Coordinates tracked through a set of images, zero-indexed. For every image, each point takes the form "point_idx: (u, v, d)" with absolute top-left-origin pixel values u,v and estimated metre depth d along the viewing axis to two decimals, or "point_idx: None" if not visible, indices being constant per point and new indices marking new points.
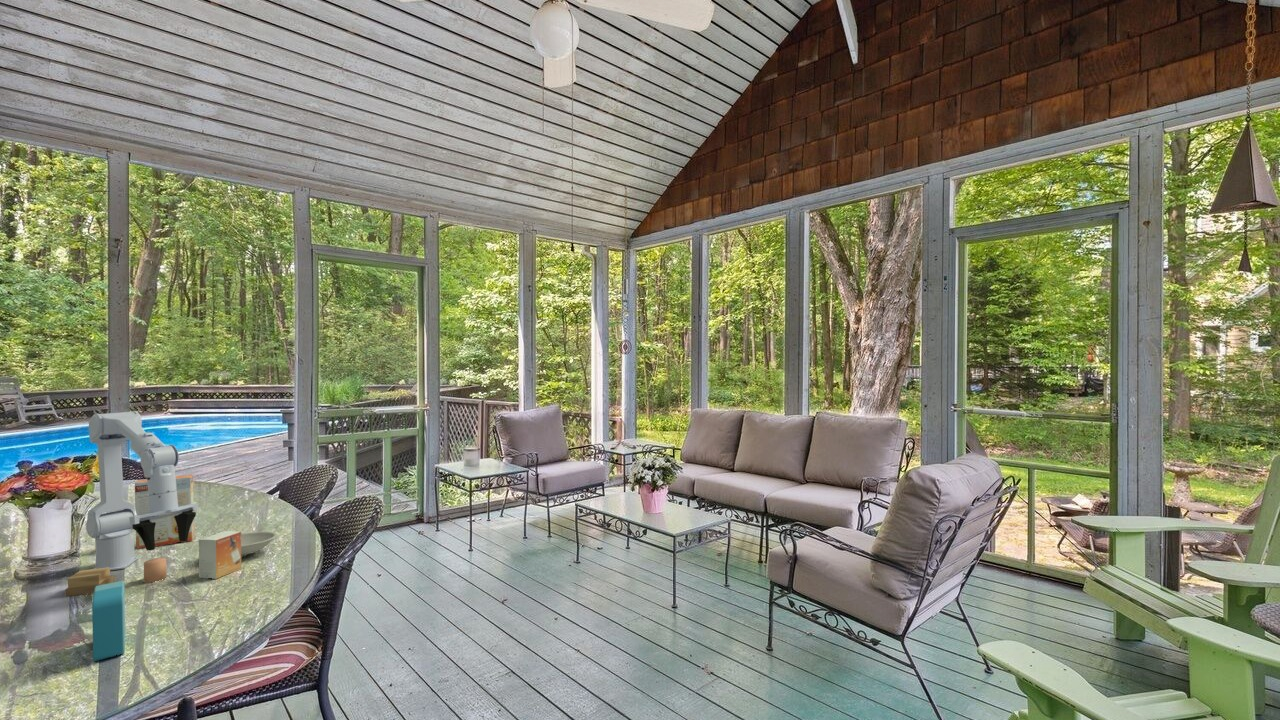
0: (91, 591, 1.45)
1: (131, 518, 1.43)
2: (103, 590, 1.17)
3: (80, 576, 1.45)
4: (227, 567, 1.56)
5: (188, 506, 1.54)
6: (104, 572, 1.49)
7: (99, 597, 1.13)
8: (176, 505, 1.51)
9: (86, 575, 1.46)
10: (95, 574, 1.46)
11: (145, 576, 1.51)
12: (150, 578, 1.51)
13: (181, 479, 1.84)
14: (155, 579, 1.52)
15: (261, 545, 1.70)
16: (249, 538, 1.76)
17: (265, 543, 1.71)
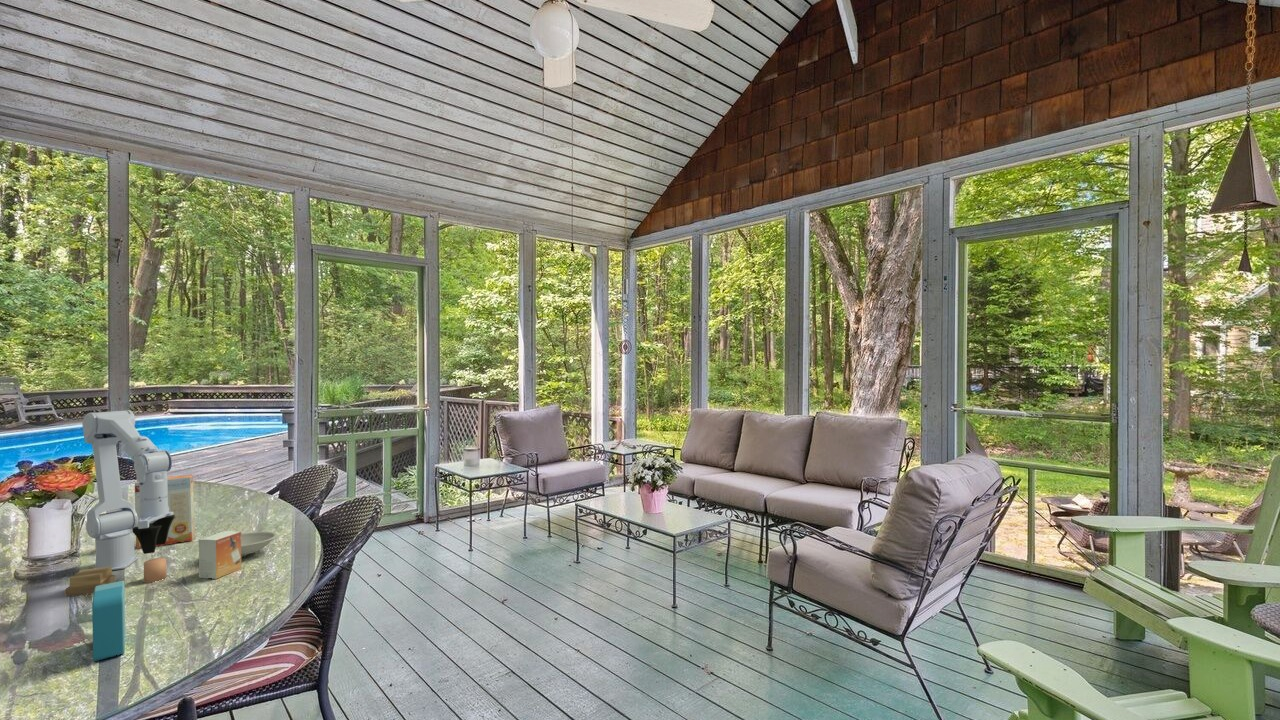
0: (91, 591, 1.45)
1: (142, 522, 1.47)
2: (103, 590, 1.17)
3: (82, 575, 1.45)
4: (227, 567, 1.56)
5: None
6: (106, 571, 1.49)
7: (99, 597, 1.13)
8: None
9: (87, 574, 1.46)
10: (96, 573, 1.46)
11: (145, 576, 1.51)
12: (150, 578, 1.51)
13: (181, 479, 1.84)
14: (155, 579, 1.52)
15: (261, 545, 1.70)
16: (249, 538, 1.76)
17: (265, 543, 1.71)
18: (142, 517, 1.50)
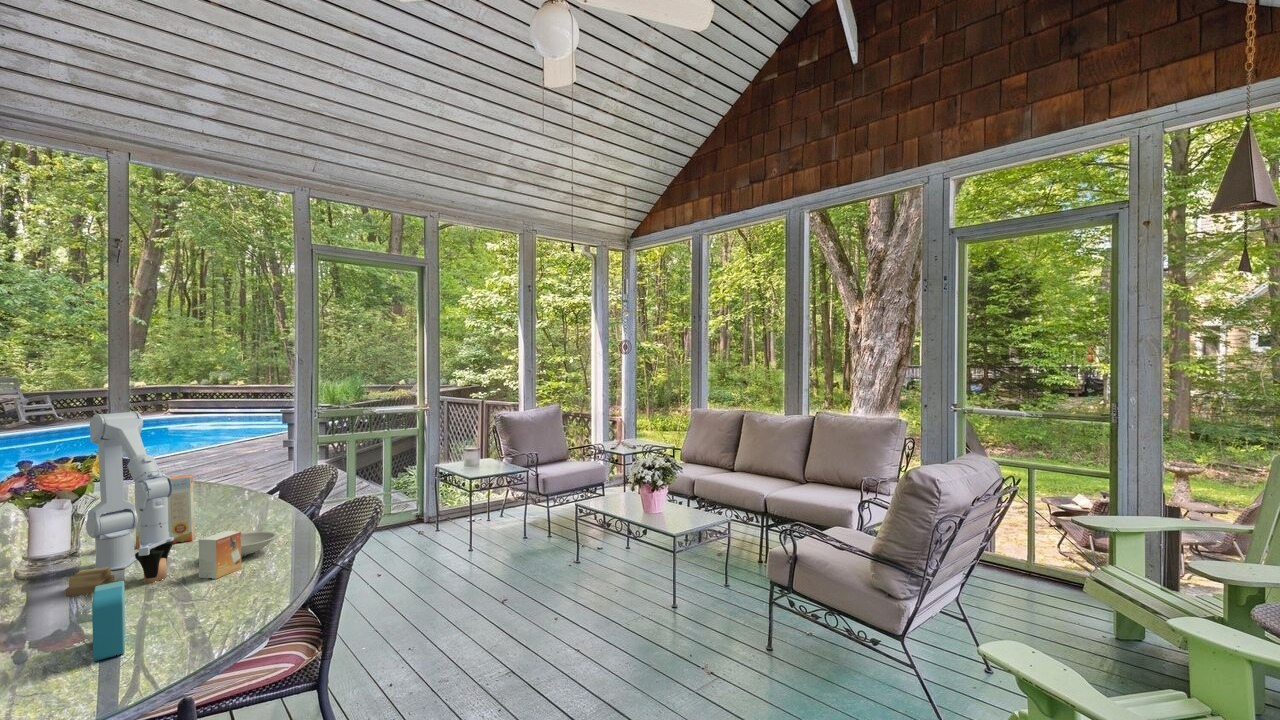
0: (91, 591, 1.45)
1: (142, 549, 1.47)
2: (103, 590, 1.17)
3: (81, 576, 1.45)
4: (227, 567, 1.56)
5: None
6: (105, 572, 1.49)
7: (99, 597, 1.13)
8: None
9: (87, 575, 1.46)
10: (96, 574, 1.46)
11: None
12: (150, 578, 1.51)
13: (181, 479, 1.84)
14: (155, 579, 1.52)
15: (261, 545, 1.70)
16: (249, 538, 1.76)
17: (265, 543, 1.71)
18: (143, 543, 1.50)
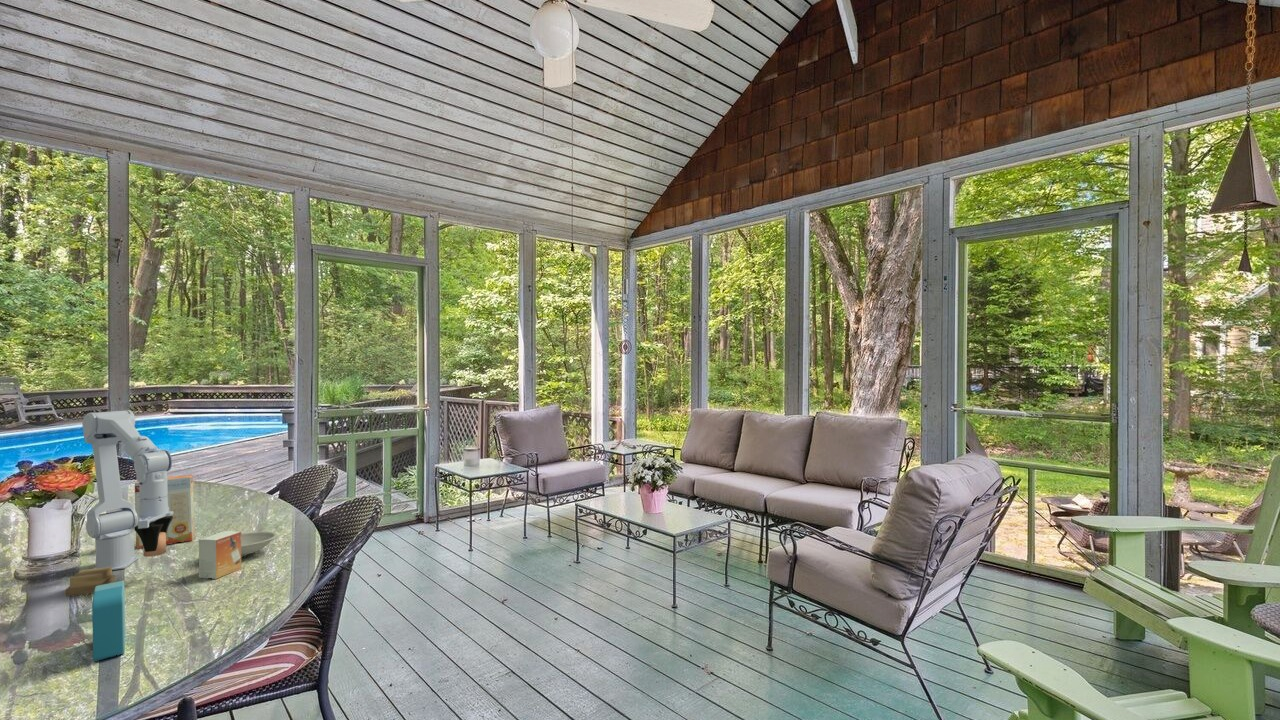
0: (91, 591, 1.45)
1: (142, 522, 1.47)
2: (103, 590, 1.17)
3: (82, 576, 1.45)
4: (227, 567, 1.56)
5: None
6: (106, 572, 1.49)
7: (99, 597, 1.13)
8: None
9: (88, 575, 1.46)
10: (97, 574, 1.46)
11: (144, 549, 1.51)
12: (149, 552, 1.51)
13: (181, 479, 1.84)
14: (154, 553, 1.52)
15: (261, 545, 1.70)
16: (249, 538, 1.76)
17: (265, 543, 1.71)
18: (142, 517, 1.50)
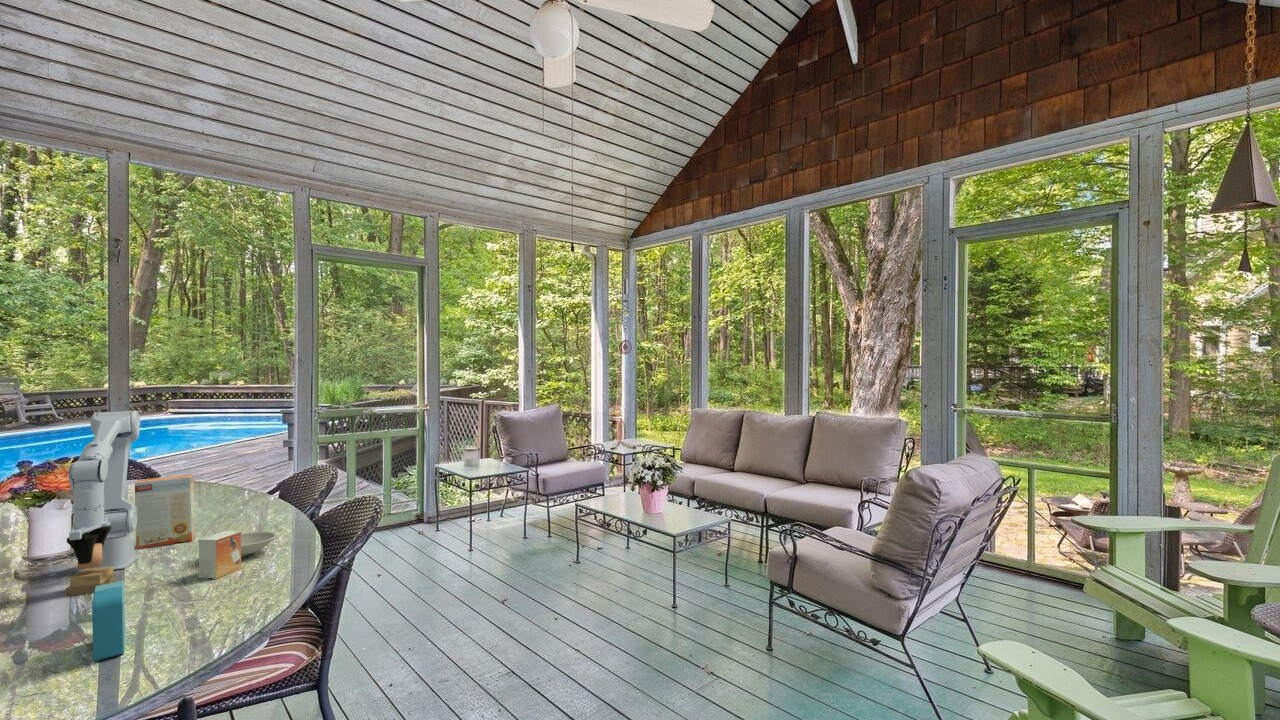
0: (91, 590, 1.45)
1: (73, 533, 1.41)
2: (103, 590, 1.17)
3: (82, 575, 1.45)
4: (227, 567, 1.56)
5: (105, 519, 1.53)
6: (106, 571, 1.49)
7: (99, 597, 1.13)
8: None
9: (88, 574, 1.46)
10: (96, 574, 1.46)
11: None
12: (83, 564, 1.45)
13: (181, 479, 1.84)
14: (89, 565, 1.46)
15: (261, 545, 1.70)
16: (249, 538, 1.76)
17: (265, 543, 1.71)
18: (75, 528, 1.45)
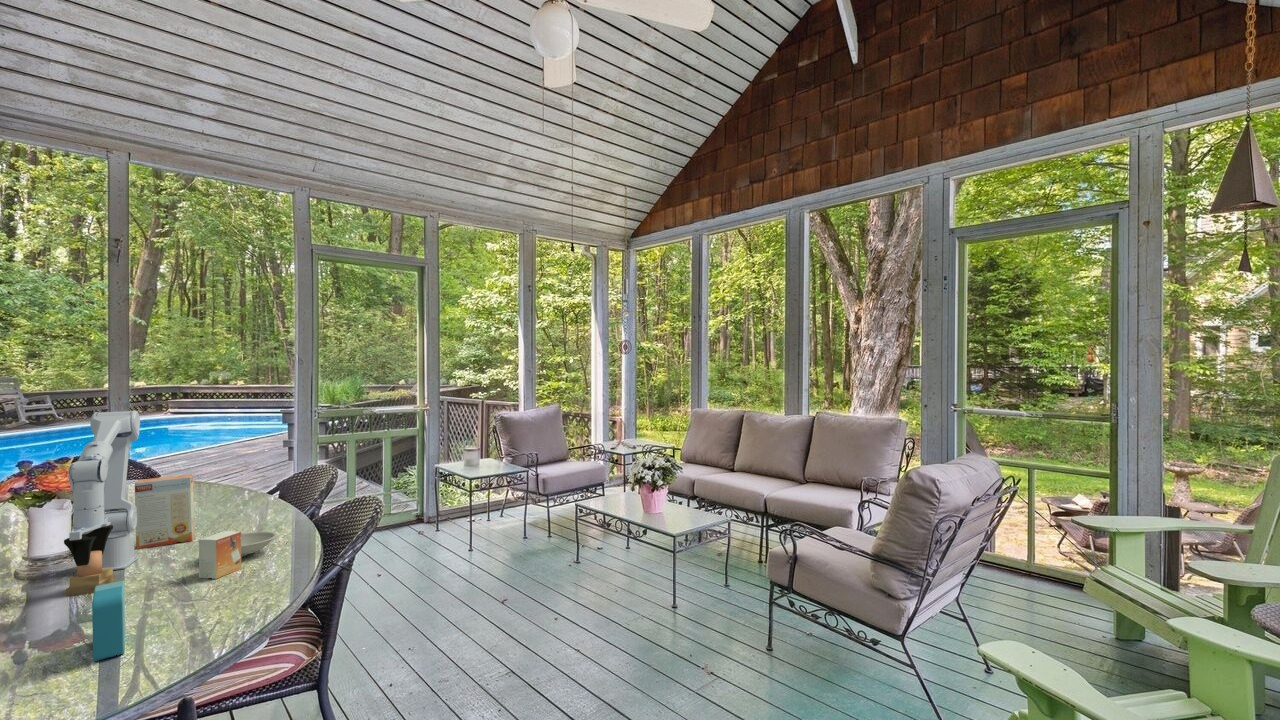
0: (92, 591, 1.45)
1: (73, 533, 1.41)
2: (103, 590, 1.17)
3: None
4: (227, 567, 1.56)
5: (105, 520, 1.53)
6: (106, 572, 1.49)
7: (99, 597, 1.13)
8: None
9: None
10: (96, 574, 1.46)
11: (78, 569, 1.45)
12: (83, 572, 1.45)
13: (181, 479, 1.84)
14: (89, 572, 1.46)
15: (261, 545, 1.70)
16: (249, 538, 1.76)
17: (265, 543, 1.71)
18: (75, 528, 1.45)
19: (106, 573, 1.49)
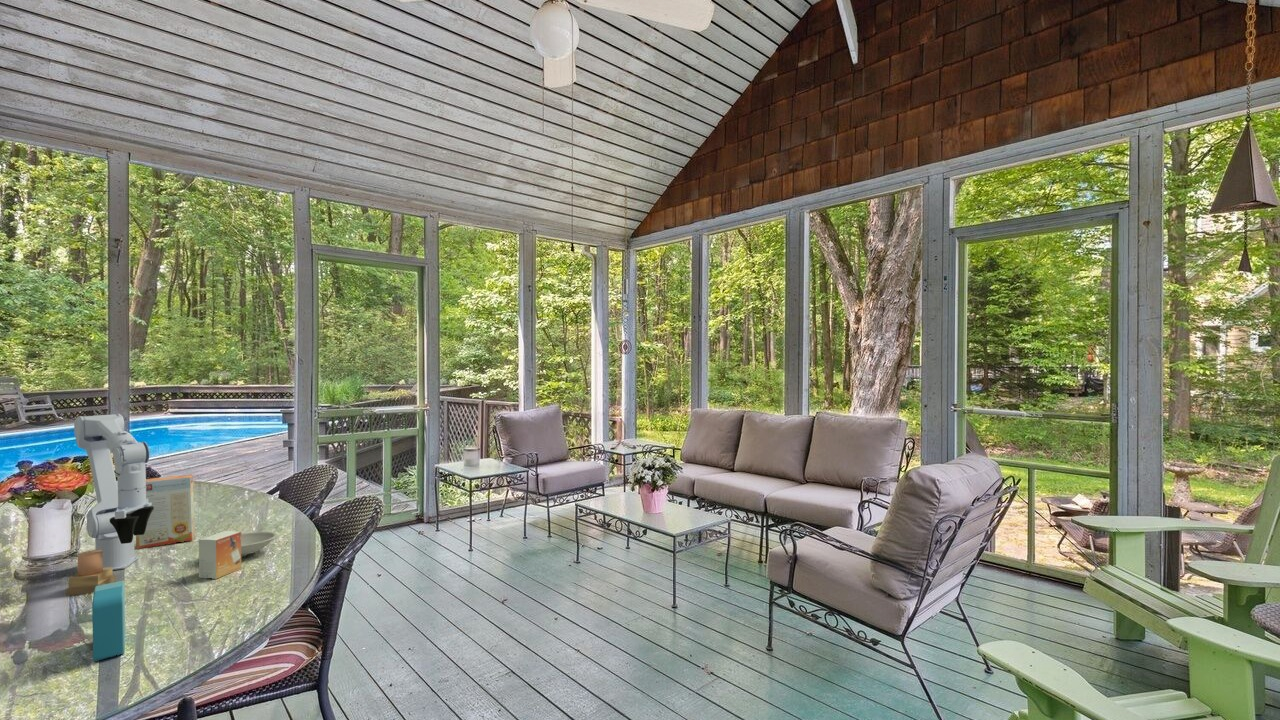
0: (92, 591, 1.45)
1: (119, 512, 1.48)
2: (103, 590, 1.17)
3: (81, 576, 1.45)
4: (227, 567, 1.56)
5: (146, 501, 1.60)
6: (105, 572, 1.49)
7: (99, 597, 1.13)
8: None
9: None
10: (95, 574, 1.46)
11: (79, 569, 1.45)
12: (84, 571, 1.45)
13: (181, 479, 1.84)
14: (89, 572, 1.46)
15: (261, 545, 1.70)
16: (249, 538, 1.76)
17: (265, 543, 1.71)
18: (120, 508, 1.52)
19: (105, 573, 1.49)
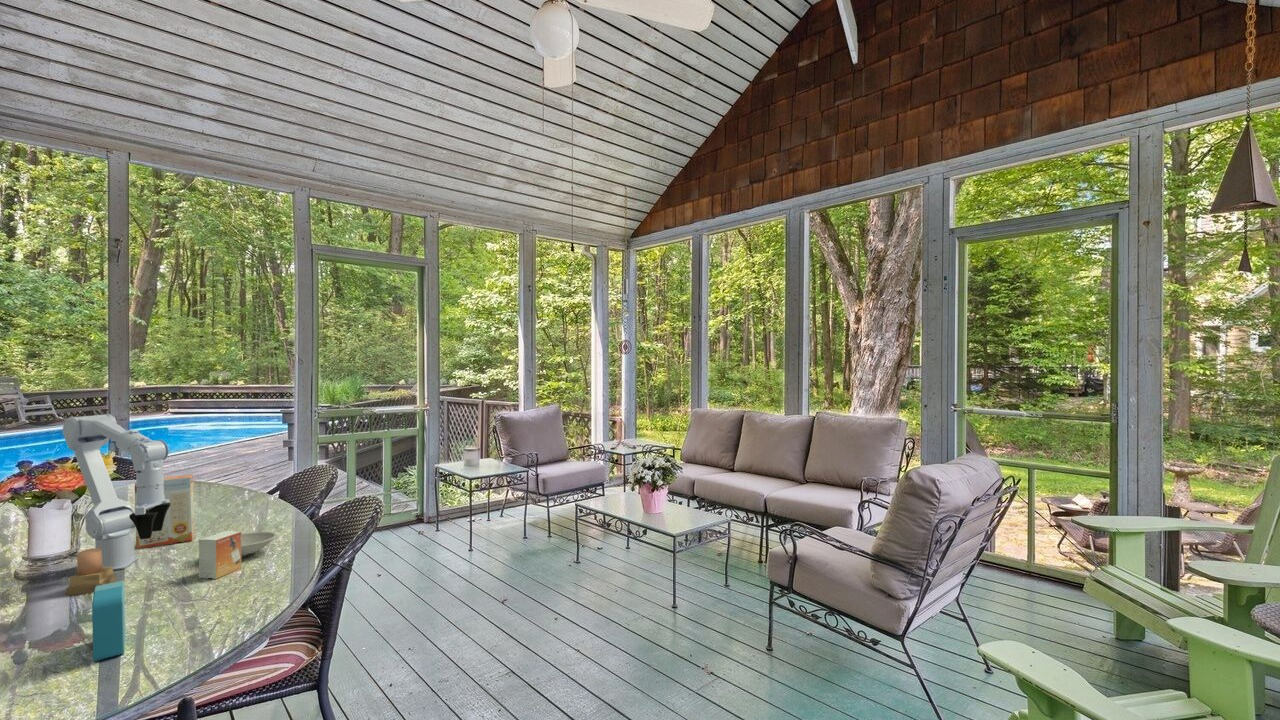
0: (92, 590, 1.45)
1: (138, 509, 1.52)
2: (103, 590, 1.17)
3: (82, 575, 1.46)
4: (227, 567, 1.56)
5: None
6: (106, 571, 1.49)
7: (99, 597, 1.13)
8: None
9: None
10: (96, 573, 1.47)
11: (79, 568, 1.45)
12: (84, 571, 1.45)
13: (181, 479, 1.84)
14: (90, 571, 1.46)
15: (261, 545, 1.70)
16: (249, 538, 1.76)
17: (265, 543, 1.71)
18: (139, 504, 1.56)
19: (106, 572, 1.49)
